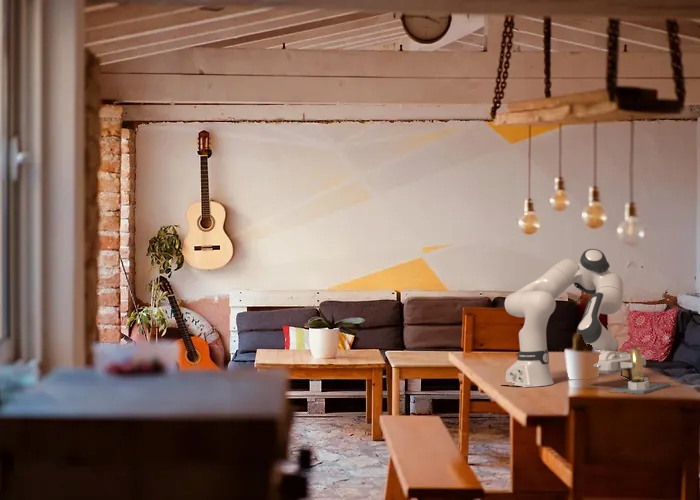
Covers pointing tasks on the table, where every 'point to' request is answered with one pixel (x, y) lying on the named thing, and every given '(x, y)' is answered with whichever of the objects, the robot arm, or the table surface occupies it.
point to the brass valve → (637, 363)
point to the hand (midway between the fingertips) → (638, 364)
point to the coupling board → (651, 388)
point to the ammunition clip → (627, 372)
